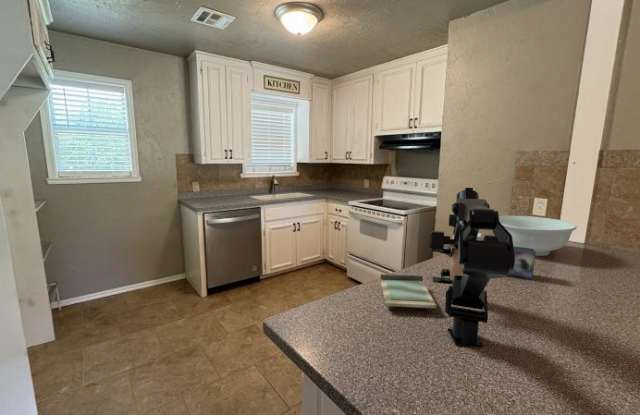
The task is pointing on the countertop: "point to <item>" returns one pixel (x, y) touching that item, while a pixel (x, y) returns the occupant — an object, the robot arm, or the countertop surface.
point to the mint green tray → (406, 292)
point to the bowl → (538, 232)
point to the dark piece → (442, 279)
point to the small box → (523, 263)
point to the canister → (455, 264)
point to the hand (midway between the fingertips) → (460, 256)
